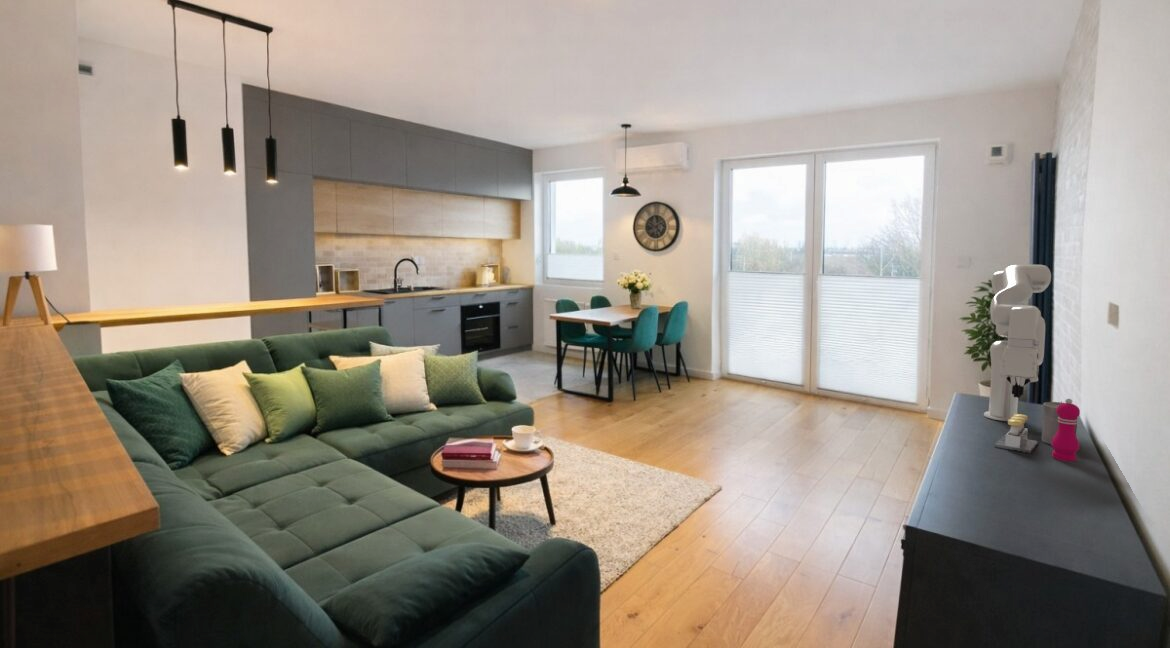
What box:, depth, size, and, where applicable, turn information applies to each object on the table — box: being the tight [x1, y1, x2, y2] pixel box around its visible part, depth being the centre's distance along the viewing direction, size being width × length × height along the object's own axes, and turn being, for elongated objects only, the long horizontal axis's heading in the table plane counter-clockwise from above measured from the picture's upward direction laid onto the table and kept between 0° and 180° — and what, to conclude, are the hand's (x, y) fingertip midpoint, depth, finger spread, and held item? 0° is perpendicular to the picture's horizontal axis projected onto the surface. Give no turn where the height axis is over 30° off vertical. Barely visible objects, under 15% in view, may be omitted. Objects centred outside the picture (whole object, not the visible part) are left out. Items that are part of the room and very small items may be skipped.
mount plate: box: [994, 427, 1038, 454], centre depth 213 cm, size 14×10×5 cm
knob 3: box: [1014, 413, 1028, 430], centre depth 216 cm, size 4×4×6 cm
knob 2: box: [1011, 417, 1026, 433], centre depth 213 cm, size 4×4×6 cm
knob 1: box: [1007, 419, 1022, 436], centre depth 209 cm, size 4×4×6 cm
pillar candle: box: [1041, 401, 1078, 445], centre depth 215 cm, size 10×10×15 cm
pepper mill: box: [1050, 398, 1081, 462], centre depth 199 cm, size 7×7×20 cm
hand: (1017, 396), depth 208 cm, fingers closed
